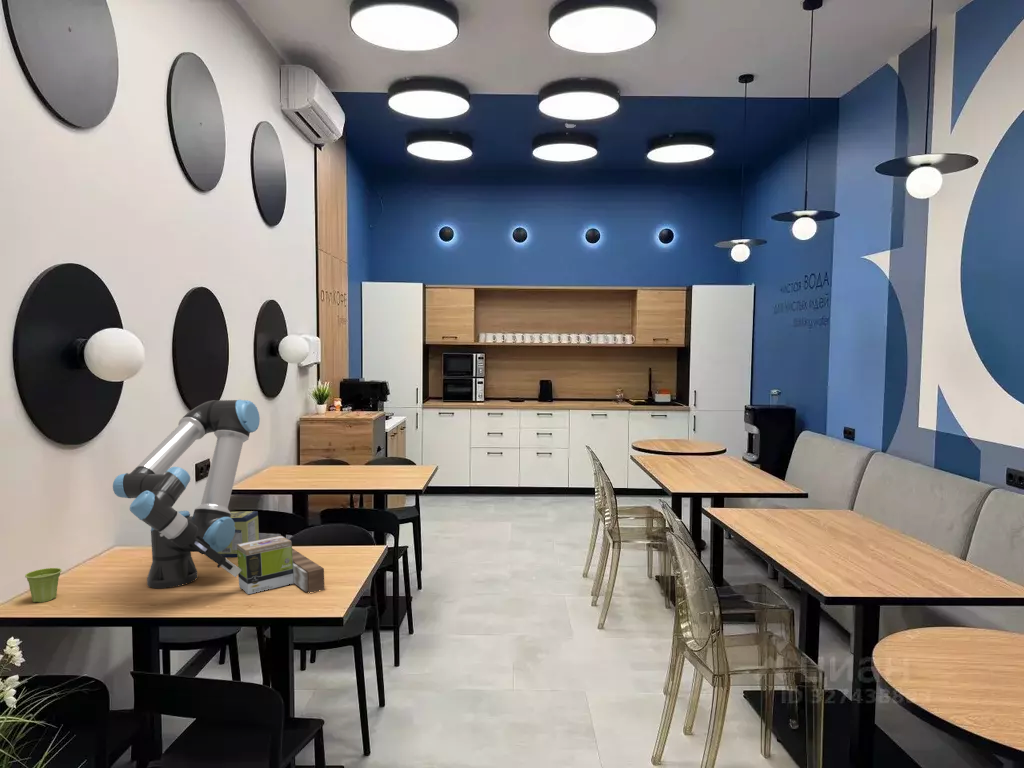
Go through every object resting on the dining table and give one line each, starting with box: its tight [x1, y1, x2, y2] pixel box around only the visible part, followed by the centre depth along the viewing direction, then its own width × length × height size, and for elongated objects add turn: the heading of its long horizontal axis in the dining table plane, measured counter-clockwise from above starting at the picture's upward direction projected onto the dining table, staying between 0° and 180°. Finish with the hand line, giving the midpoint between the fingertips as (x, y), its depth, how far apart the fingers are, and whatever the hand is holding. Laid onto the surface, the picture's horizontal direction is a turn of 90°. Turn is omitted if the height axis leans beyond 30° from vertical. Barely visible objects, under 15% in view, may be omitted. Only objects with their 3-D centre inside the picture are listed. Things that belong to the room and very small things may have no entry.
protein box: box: [218, 510, 260, 559], centre depth 248 cm, size 10×16×16 cm
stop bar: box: [292, 548, 325, 594], centre depth 215 cm, size 30×6×7 cm, turn 38°
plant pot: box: [24, 567, 63, 603], centre depth 202 cm, size 9×9×9 cm
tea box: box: [237, 535, 295, 595], centre depth 210 cm, size 15×10×15 cm, turn 129°
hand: (238, 573), depth 205 cm, fingers closed
